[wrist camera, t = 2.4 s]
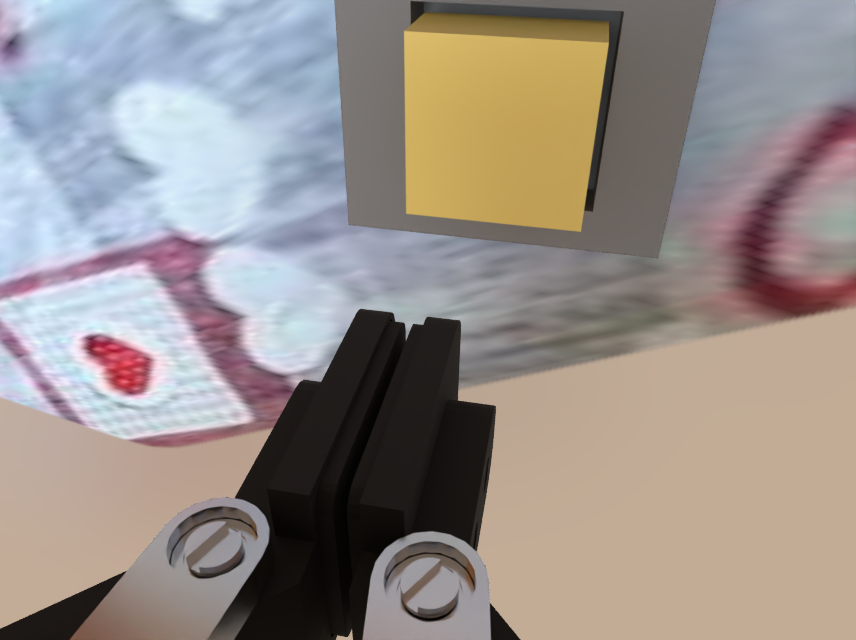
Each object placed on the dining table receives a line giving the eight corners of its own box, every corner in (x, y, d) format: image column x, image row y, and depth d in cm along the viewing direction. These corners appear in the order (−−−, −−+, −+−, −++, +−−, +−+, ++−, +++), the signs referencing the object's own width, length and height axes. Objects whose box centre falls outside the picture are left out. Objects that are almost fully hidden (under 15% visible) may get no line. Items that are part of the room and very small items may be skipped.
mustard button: (609, 21, 22) (609, 42, 20) (583, 194, 26) (580, 231, 23) (425, 11, 23) (403, 31, 21) (424, 180, 27) (406, 213, 24)
